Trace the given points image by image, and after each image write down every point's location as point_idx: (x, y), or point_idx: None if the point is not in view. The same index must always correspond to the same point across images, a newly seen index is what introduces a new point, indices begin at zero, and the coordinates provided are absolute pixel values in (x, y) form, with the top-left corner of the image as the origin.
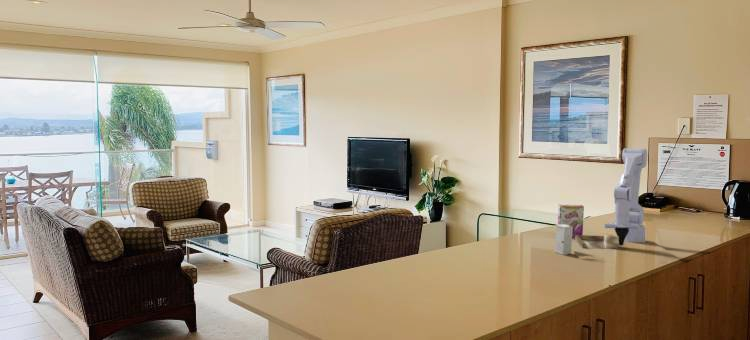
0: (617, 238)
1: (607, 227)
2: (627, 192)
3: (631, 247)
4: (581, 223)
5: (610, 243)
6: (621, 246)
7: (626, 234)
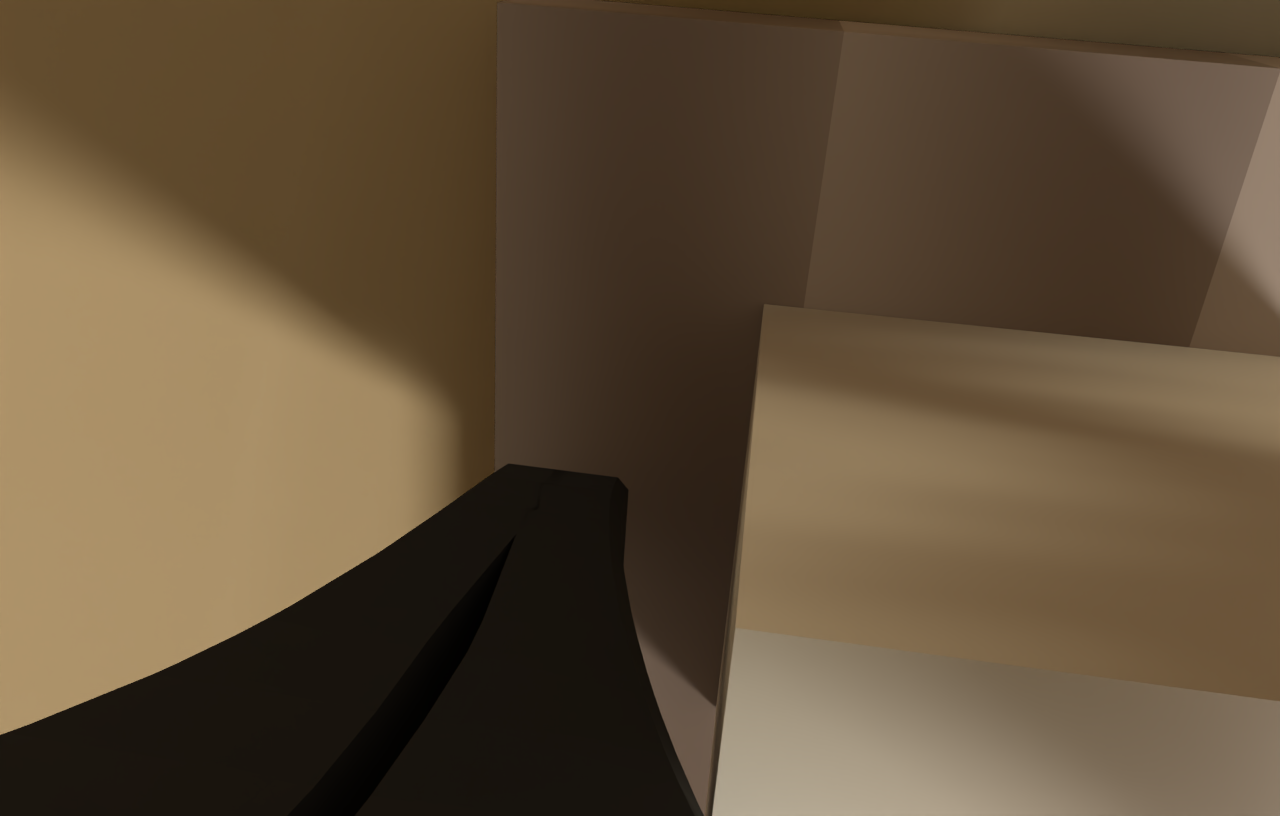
0: (831, 554)
1: None
2: None
3: None
4: None
5: (1201, 439)
6: None
7: (3, 746)
